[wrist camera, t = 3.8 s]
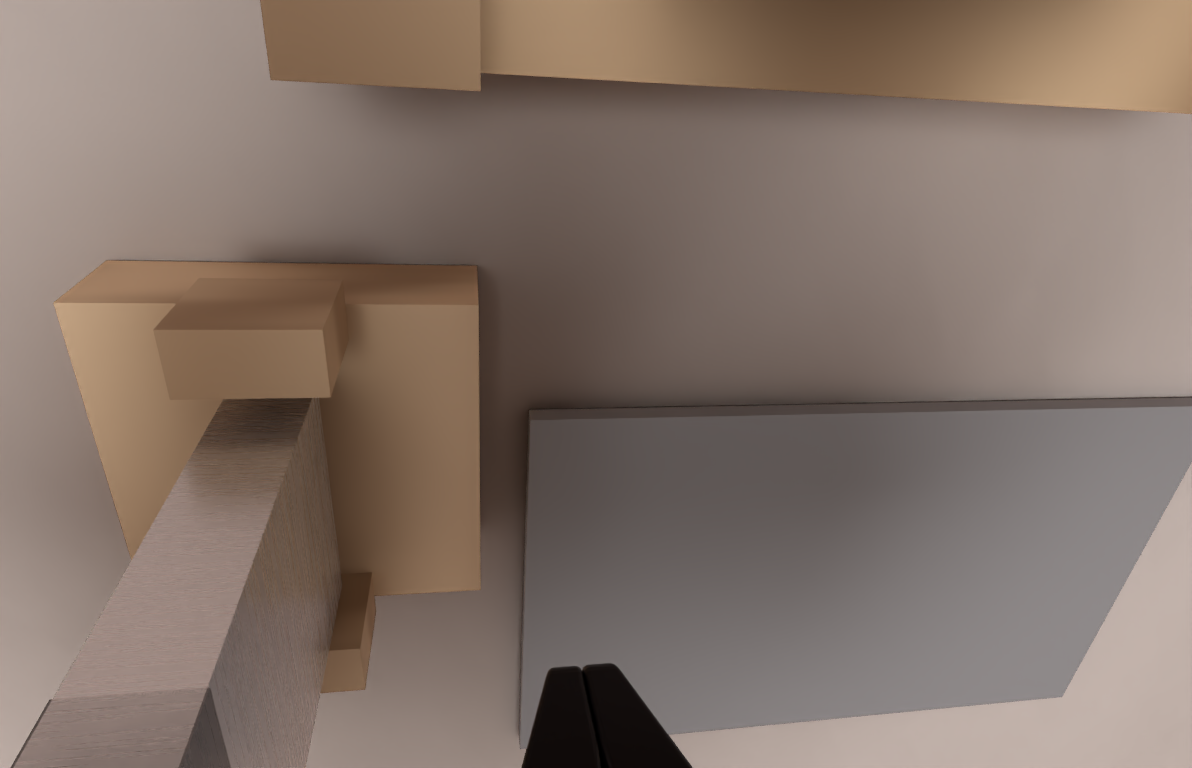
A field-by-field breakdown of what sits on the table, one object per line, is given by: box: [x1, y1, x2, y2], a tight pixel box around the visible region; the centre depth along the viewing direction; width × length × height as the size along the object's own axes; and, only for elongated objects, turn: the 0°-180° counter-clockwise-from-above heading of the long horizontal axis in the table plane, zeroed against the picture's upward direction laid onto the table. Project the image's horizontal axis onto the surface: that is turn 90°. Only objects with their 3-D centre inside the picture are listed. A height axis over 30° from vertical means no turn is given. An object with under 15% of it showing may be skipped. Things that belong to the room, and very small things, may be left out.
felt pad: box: [519, 397, 1192, 749], centre depth 18 cm, size 16×10×1 cm, turn 86°
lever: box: [11, 398, 342, 768], centre depth 9 cm, size 1×4×8 cm, turn 176°
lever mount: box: [53, 260, 481, 693], centre depth 12 cm, size 6×7×4 cm
